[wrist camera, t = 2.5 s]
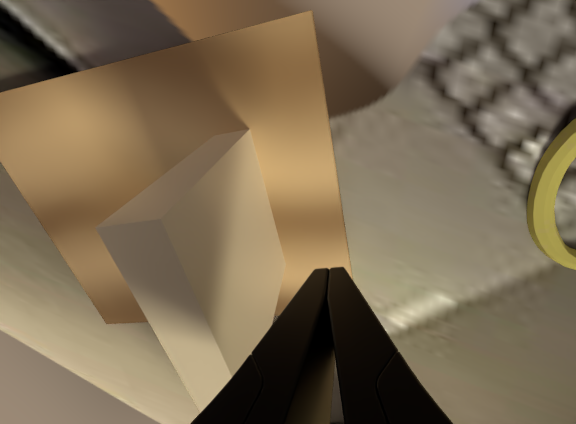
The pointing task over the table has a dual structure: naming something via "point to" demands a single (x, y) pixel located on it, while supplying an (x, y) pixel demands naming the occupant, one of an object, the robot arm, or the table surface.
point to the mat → (179, 146)
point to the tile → (203, 260)
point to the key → (551, 197)
